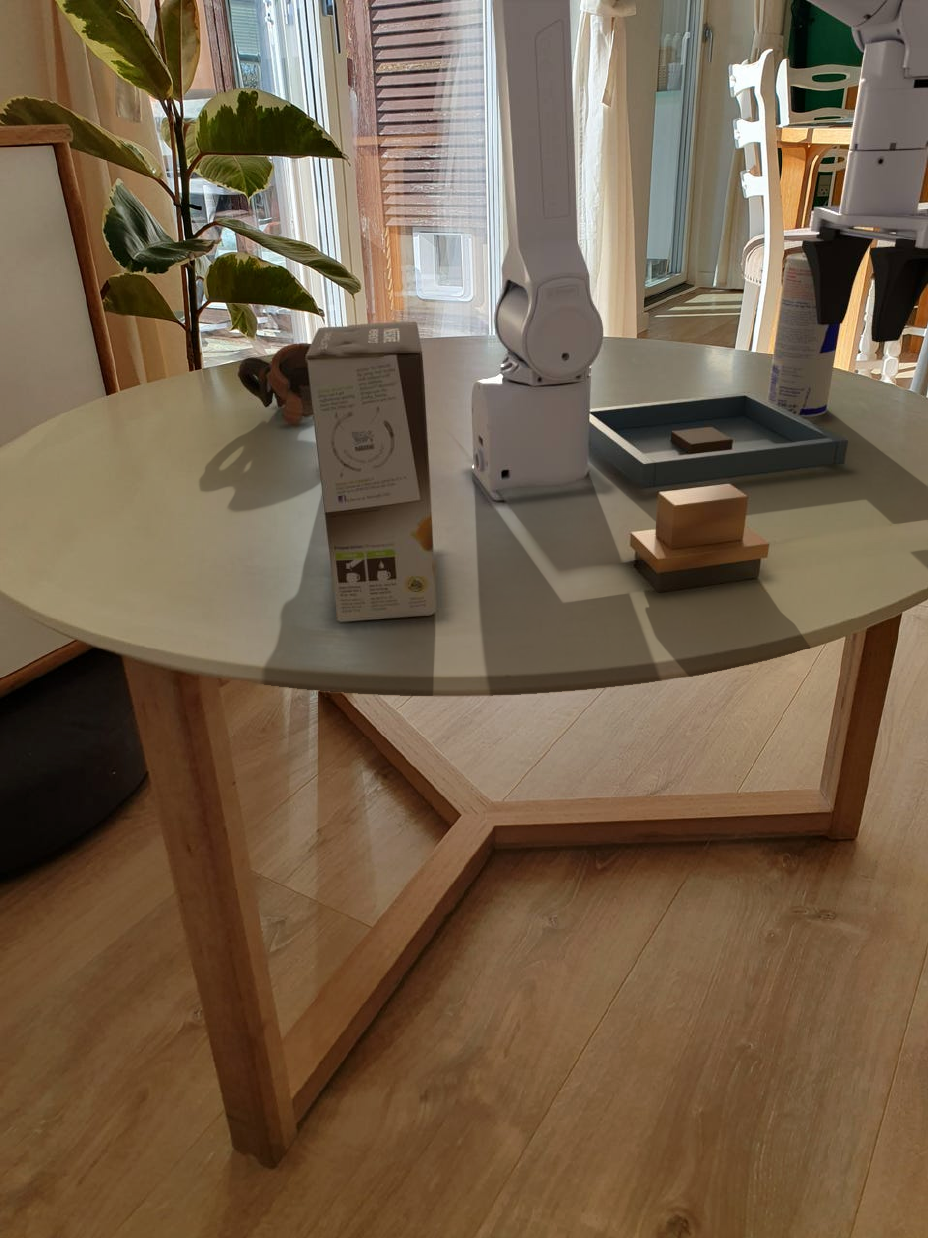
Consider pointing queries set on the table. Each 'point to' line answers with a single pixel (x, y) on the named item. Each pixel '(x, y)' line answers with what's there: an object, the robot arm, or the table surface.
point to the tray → (751, 421)
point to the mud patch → (701, 440)
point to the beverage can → (801, 346)
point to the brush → (699, 540)
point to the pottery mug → (281, 381)
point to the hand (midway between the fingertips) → (856, 331)
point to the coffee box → (374, 468)
